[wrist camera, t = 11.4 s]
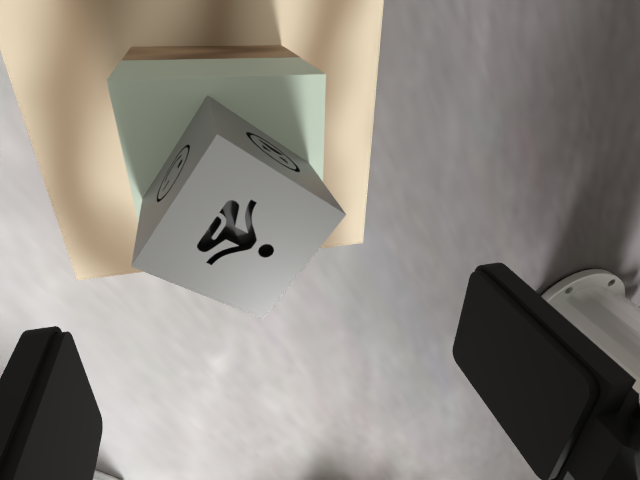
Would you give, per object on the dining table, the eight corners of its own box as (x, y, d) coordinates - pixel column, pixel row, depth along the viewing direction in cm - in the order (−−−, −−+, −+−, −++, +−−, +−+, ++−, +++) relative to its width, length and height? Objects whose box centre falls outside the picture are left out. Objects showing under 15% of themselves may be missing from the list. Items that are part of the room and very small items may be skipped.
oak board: (379, -77, 24) (390, -80, 23) (356, 233, 34) (362, 242, 33) (-38, -103, 19) (-53, -109, 18) (81, 267, 29) (77, 280, 28)
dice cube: (207, 94, 16) (217, 134, 12) (309, 162, 19) (346, 214, 14) (142, 198, 17) (131, 266, 13) (245, 249, 20) (263, 319, 16)
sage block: (299, 57, 21) (326, 74, 17) (300, 206, 25) (321, 246, 21) (120, 60, 19) (106, 80, 15) (153, 221, 23) (148, 268, 19)
